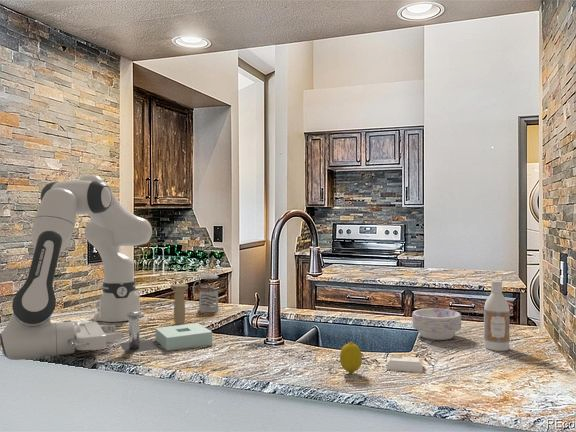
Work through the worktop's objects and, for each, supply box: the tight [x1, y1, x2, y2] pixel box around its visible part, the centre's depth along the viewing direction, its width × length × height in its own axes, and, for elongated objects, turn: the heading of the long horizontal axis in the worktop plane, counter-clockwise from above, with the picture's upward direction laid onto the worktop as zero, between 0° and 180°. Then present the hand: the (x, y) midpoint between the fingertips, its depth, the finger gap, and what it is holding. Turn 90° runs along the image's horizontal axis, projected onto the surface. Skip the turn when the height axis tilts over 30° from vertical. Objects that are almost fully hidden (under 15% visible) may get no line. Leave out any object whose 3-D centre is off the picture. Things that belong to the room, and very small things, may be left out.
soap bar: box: [386, 355, 424, 373], centre depth 128 cm, size 5×9×3 cm, turn 76°
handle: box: [170, 283, 189, 326], centre depth 175 cm, size 5×6×15 cm
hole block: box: [154, 322, 213, 351], centre depth 154 cm, size 14×14×4 cm
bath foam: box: [483, 279, 511, 352], centre depth 146 cm, size 7×7×20 cm
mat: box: [118, 338, 162, 354], centre depth 150 cm, size 12×10×1 cm
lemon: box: [339, 341, 363, 374], centre depth 124 cm, size 6×6×8 cm
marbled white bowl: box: [411, 308, 462, 341], centre depth 160 cm, size 15×15×8 cm
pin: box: [127, 310, 142, 350], centre depth 147 cm, size 4×4×11 cm
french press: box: [192, 249, 221, 313], centre depth 206 cm, size 10×12×25 cm
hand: (118, 331), depth 145 cm, fingers open, 8 cm apart
